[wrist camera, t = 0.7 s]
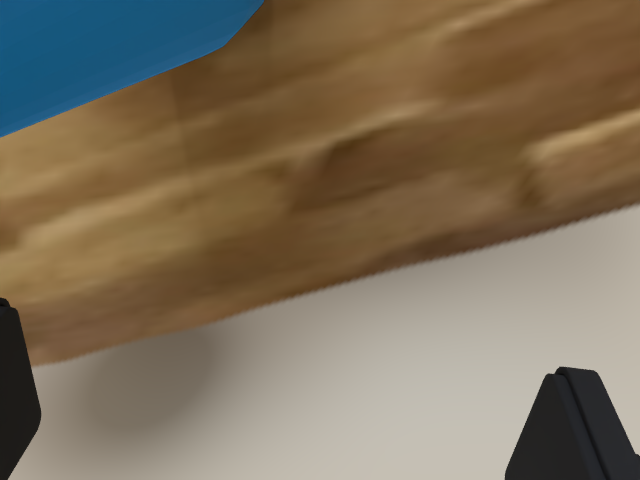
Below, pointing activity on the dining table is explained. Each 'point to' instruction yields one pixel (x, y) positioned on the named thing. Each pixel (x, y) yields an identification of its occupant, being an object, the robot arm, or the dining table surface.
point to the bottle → (100, 48)
